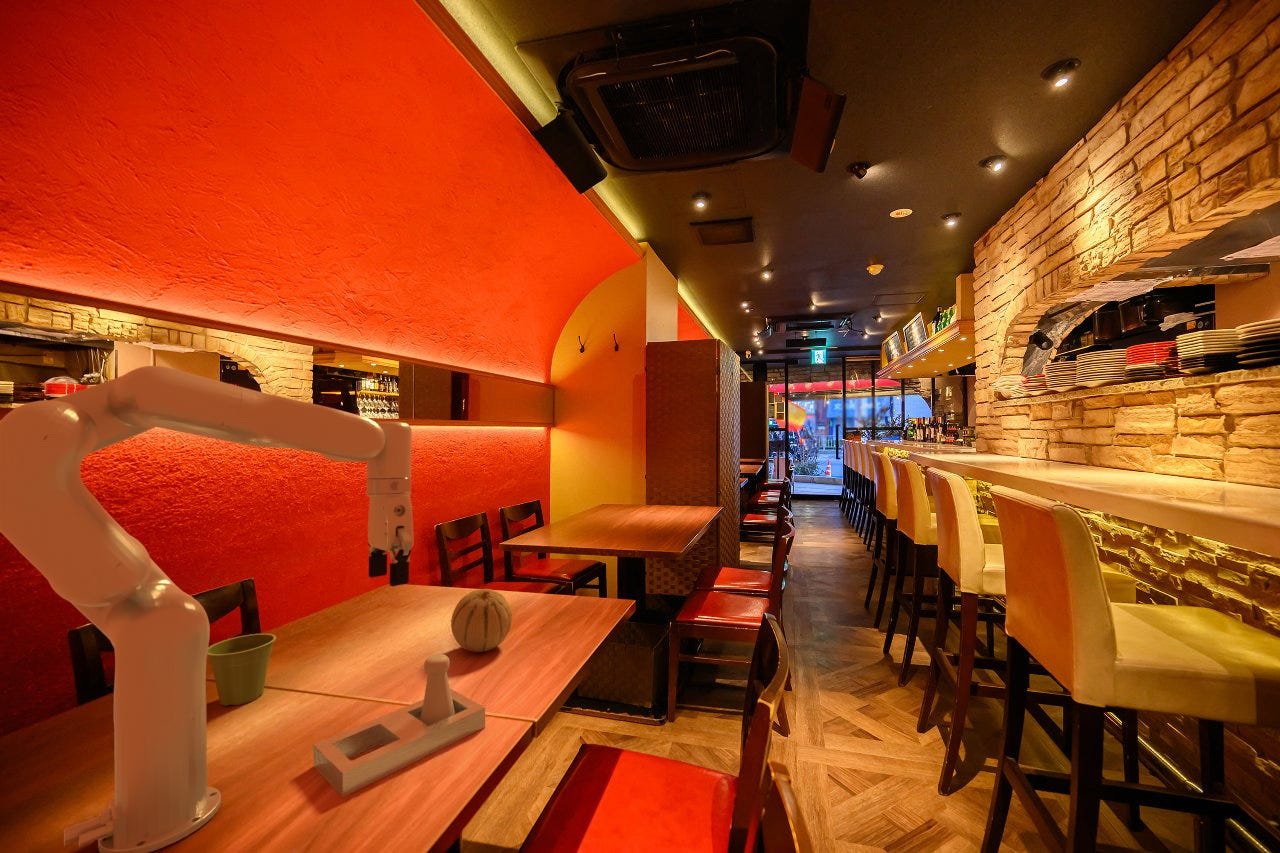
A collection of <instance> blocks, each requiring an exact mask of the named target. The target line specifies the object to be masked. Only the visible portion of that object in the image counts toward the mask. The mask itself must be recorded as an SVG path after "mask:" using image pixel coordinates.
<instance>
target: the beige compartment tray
mask: <svg viewBox="0 0 1280 853" xmlns="http://www.w3.org/2000/svg"><path fill="white" fill-rule="evenodd" d="M450 691H451V696H452V701H453V706H454V711H455V714H454V715H452V716H450V717H448V718H446V719H443V720H441V721H439V722H437V723H435V724H432V725H430V726H427V725H426V724H424V723H423V722H421V721H420V719H421V713H422V708H423V702H424V698H423V699H421V700H418V701H415V702H413V703H411V704H408V705H407V706H403V707H401V708H400V709H395V710H394V711H392V712H389V713H386V714H384V715H382V716H379V717H377V718H374V719H372V720H370V721H367V722H365V723H361V724H360V725H357V726H355V727H353V728H349V729H347V730H345V731H343V732H340V733H337V734H334V735H333V736H331V737H328V738H325V739H322V740H320V741H318V742H316V743H315V742H314V744H313V747H312V748H313V767H314V768H315V769H316V770H317V772H318V773H319V774H320V775H322V777H323V778H324V779H325V780H326V781H327V782H328V783H329V784H330V785H331V786H332V787H333V789H334V790H335V791H336V792H337V793H338V794H339V795H340V796H341V797H342V798H345V797H348V795H351V794H352V793H354V792H357V791H359V790H361V789H363V788H364V787H367V786H369V785H371V784H373V783H375V782H377V781H379V780H381V779H383V778H385V777H387V776H389V775H391V774H393V773H395V772H397V771H400V770H402V769H404V768H405V767H408V766H410V765H411V764H413V763H416V762H417V761H419V760H422V759H423V758H425V757H427V756H430V755H431V754H434V753H436V752H438V751H440V750H441V749H444V748H446V747H448V746H450V745H452V744H454V743H456V742H459V741H460V740H462V739H464V738H467V737H468V736H471V735H472V734H474V733H476V732H479V731H480V730H482V729H484V728H486V707H485V706H483V705H481V704H480V703H478V702H475V701H474V700H472V699H470V698H468V697H467V696H464V695H463V694H462V693H459V692H457V691H456V690H454V689H452V688H450ZM379 745H381V747H379V748H377V749H375V750H372V751H370V752H369V753H366V754H364V755H361V756H359V757H357V758H355V759H352V760H351V759H350V758H352V757H354V756H356V755H359V754H361V753H363V752H365V751H368V750H370V749H373V748H375V747H377V746H379Z"/></svg>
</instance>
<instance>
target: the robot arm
mask: <svg viewBox="0 0 1280 853" xmlns="http://www.w3.org/2000/svg"><path fill="white" fill-rule="evenodd" d="M155 428H160V429H165V430H170V431H175V432H180V433H185V434H191V435H195V436H200V437H206V438H211V439H216V440H220V441H225V442H230V443H234V444H239V445H242V446H243V445H245V446H252V447H260V448H275V449H276V448H281V449H282V448H283V449H290V450H291V449H292V450H299V451H307V452H312V453H318V454H320V455H321V456H322V457H324V458H326V459H328V460H330V461H333V462H340V463H341V462H342V463H345V462H346V463H349V462H351V463H352V462H353V463H354V462H355V463H364V462H366V497H368V498H369V504H368V516H367V518H368V519H367V541H368V542H367V545H368V547H369V548H368V552H367V553H368V577H369V578H371V579H372V578H377V577H384V576H386V575H388V554H387V553H388V552H389V557H390V561H391V563H390V562H389V586H390V587H398V586H402V585H407V584H409V582H410V561H411V554H412V550H411V549H412V548H413V547H414V521H413V520H414V519H413V507H412V500H411V495H412V428H411V426H410V424H408V423H407V422H403V421H374V420H373V419H370V418H369V417H365V416H362V415H358V414H354V413H353V412H352V413H351V412H348V411H344V410H340V409H337V408H333V407H329V406H325V405H324V406H323V405H320V404H315V403H311V402H306V401H302V400H301V401H300V400H297V399H293V398H288V397H285V396H281V395H275V394H271V393H266V392H262V391H258V390H255V389H251V388H246V387H243V386H239V385H234V384H231V383H228V382H224V381H220V380H216V379H213V378H210V377H209V378H208V377H205V376H202V375H197V374H194V373H190V372H187V371H183V370H179V369H175V368H171V367H166V366H163V365H162V366H160V365H146V366H139V367H138V368H135V369H132V370H130V371H128V372H127V373H125V374H123V375H121V376H118V377H115V378H113V379H110V380H108V381H105V382H103V383H98V384H96V385H93V386H90V387H87V388H85V389H81V390H78V391H75V392H71V393H68V394H65V395H62V396H58V397H55V398H53V399H49V400H47V399H46V400H37V401H31V402H28V403H24V404H23V405H20V406H17V407H15V408H14V409H12V410H11V411H9V412H8V413H7V414H5V415H4V416H3V418H1V420H0V533H1V534H2V535H3V537H5V538H6V539H7V540H8V541H9V542H10V543H11V544H12V545H13V547H15V548H16V550H17V551H18V552H19V553H20V554H21V555H22V556H23V557H24V558H25V559H26V560H27V561H28V562H29V563H30V564H31V565H32V566H33V567H34V568H35V569H36V570H38V572H39V573H41V575H43V577H44V578H45V579H46V580H47V581H48V582H47V583H49V585H50V587H51V588H52V590H53V591H54V592H55V594H57V595H58V596H60V598H62V599H64V600H66V601H67V602H69V603H71V605H73V607H74V608H76V609H77V610H78V611H79V612H80V613H81V614H82V615H83V616H84V617H85V618H86V619H87V620H88V621H90V622H91V623H92V624H93V626H95V627H96V628H97V629H98V630H99V631H100V632H101V633H102V634H103V635H104V636H105V637H106V638H107V639H108V640H109V641H110V643H111V645H112V647H113V649H114V650H113V651H114V657H115V658H114V660H115V662H114V663H115V664H114V667H115V668H114V686H113V725H114V728H113V730H114V731H113V732H114V733H113V738H114V740H113V741H114V744H113V746H114V749H113V750H114V753H113V754H114V756H113V757H114V799H112V800H110V801H108V802H109V803H108V804H109V806H108V808H107V809H106V810H103V811H101V812H99V813H98V816H96V817H94V818H91V819H89V820H86V821H81V822H79V823H76V824H73V825H70V826H68V827H66V828H64V829H63V846H64V847H66V846H68V845H70V844H73V843H75V842H77V841H78V847H79V848H82V847H84V846H87V845H89V844H92V843H94V842H95V841H97V840H98V841H97V849H98V852H99V853H151V852H154V851H156V850H160V849H163V848H165V847H167V846H169V845H171V844H174V843H176V842H178V841H180V840H182V839H184V838H186V837H188V836H190V835H191V834H192V833H195V832H196V831H197V830H198V829H200V828H201V827H202V826H204V825H205V824H207V823H208V822H209V821H210V820H211V819H212V818H213V817H214V816H215V814H216V813H217V812H218V810H219V809H220V806H221V803H222V794H221V792H220V791H219V789H217V788H215V787H213V786H208V754H207V751H208V750H207V749H208V748H207V747H208V745H207V743H208V742H207V739H208V738H207V736H208V735H207V734H208V733H207V732H208V731H207V663H208V662H207V661H208V655H207V653H208V647H209V643H210V637H211V636H210V634H211V633H210V631H211V630H210V628H211V627H210V621H209V618H208V617H209V616H208V614H207V612H206V610H205V608H204V606H202V604H201V603H200V602H199V601H198V600H197V599H195V598H194V597H193V596H192V595H190V594H188V593H186V592H184V591H183V590H182V589H181V588H180V587H179V586H177V585H176V584H175V583H174V581H172V580H171V578H170V577H169V576H168V575H167V574H166V573H165V572H164V571H163V570H162V569H161V568H160V567H159V566H158V565H157V564H156V563H155V561H153V559H152V558H151V557H150V554H149V552H148V551H147V549H146V548H145V546H144V545H143V544H142V542H140V541H139V540H138V539H137V538H135V537H134V536H132V535H130V534H129V533H128V532H127V531H126V530H125V529H124V528H123V527H122V526H121V525H120V524H119V523H118V522H117V521H116V520H115V519H114V518H113V516H111V515H110V513H108V511H106V509H105V508H104V507H103V506H102V505H101V503H100V502H99V501H98V499H97V498H96V497H95V496H94V495H93V494H92V492H91V491H90V490H89V489H88V488H87V486H85V484H84V481H83V479H82V476H81V466H82V463H83V461H84V459H85V458H87V456H89V455H90V454H92V453H96V452H98V451H100V450H103V449H106V448H108V447H110V446H113V445H115V444H119V443H121V442H123V441H126V440H128V439H131V438H134V437H135V436H138V435H140V434H143V433H145V432H148V431H150V430H152V429H155ZM386 552H387V553H386Z"/></svg>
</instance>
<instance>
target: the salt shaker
mask: <svg viewBox="0 0 1280 853" xmlns="http://www.w3.org/2000/svg"><path fill="white" fill-rule="evenodd" d="M450 663H451V662H450V657H448V656H447V655H446V654H443V653H442V654H434V655H430V656H429V657H427V658H426V659H425V660H424V664H423V671H424V673H425V674H427V676H426V677H427V678H426V684H425V690H424V697H423V699H424V702H423V708H422V713H421V719H420V721H421V722H423V723H424V724H426V725H427V726H430V725H432V724H435V723H437V722H439V721H441V720H443V719H446V718H448V717H450V716H452V715H454V714H455V711H454V706H453V701H452V696H451V691H450V689H451V687H450V682H449V677H448V670H449V668H450Z"/></svg>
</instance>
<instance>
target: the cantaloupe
mask: <svg viewBox="0 0 1280 853" xmlns="http://www.w3.org/2000/svg"><path fill="white" fill-rule="evenodd" d="M512 616H513V614H512V609H511V607H510V604H509V602H508V601H507V598H506V597H504V595H503V594H502V593H500V592H498V591H496V590H493V589H490V588H481V589H476V590H472V591H470V592H469V593H466V595H464V596H463V597H462V598H461V599H460V600H459V601H458V603H457V604H456V606H455V608H454V610H453V612H452V615H451V620H450V628H451V632H452V635H453V637H454V639H455V641H456V643H457V644H459V646H460V647H461V648H462V649H464V650H465V651H466V650H467V651H470V652H474V653H482V652H488V651H491V650H493V649H495V648H497V647H498V646H499V645H501V643H503V642H504V640H505V639H506V638H507V636H508V634H509V632H510V629H511V627H512V620H513V617H512Z"/></svg>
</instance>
